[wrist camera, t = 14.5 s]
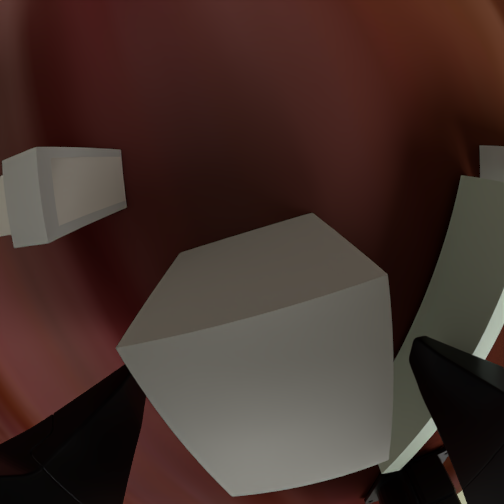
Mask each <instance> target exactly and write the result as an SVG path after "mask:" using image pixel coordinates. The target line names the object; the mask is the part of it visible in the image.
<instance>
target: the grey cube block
mask: <svg viewBox="0 0 504 504" xmlns="http://www.w3.org/2000/svg"><path fill="white" fill-rule="evenodd" d="M116 349H117V351H118V353H119V354H120V356H121V358H122V359H123V361H124V363H125V364H126V366H127V367H128V369H129V371H130V372H131V374H132V375H133V377H134V378H135V380H136V381H137V383H138V384H139V386H140V387H141V389H142V390H143V392H144V393H145V395H146V396H147V398H148V399H149V400H150V402H151V403H152V405H153V406H154V407H155V409H156V410H157V411H158V413H159V414H160V416H161V417H162V418H163V420H164V421H165V422H166V423H167V425H168V426H169V427H170V429H171V430H172V431H173V432H174V434H175V435H176V436H177V437H178V439H179V440H180V441H181V442H182V443H183V445H184V446H185V447H186V448H187V449H188V450H189V452H190V453H191V454H192V455H193V456H194V457H195V459H196V460H197V461H198V462H199V463H200V464H201V465H202V466H203V467H204V468H205V470H206V471H207V472H208V473H209V474H210V475H211V476H212V477H213V478H214V479H215V480H216V481H217V482H218V483H219V484H220V485H221V486H222V487H223V488H224V489H225V490H226V491H227V492H228V493H229V494H230V495H231V496H243V495H252V494H260V493H267V492H274V491H280V490H286V489H291V488H296V487H301V486H306V485H310V484H314V483H318V482H322V481H326V480H330V479H334V478H337V477H341V476H344V475H347V474H351V473H354V472H357V471H360V470H363V469H366V468H369V467H371V466H374V465H377V464H380V463H382V462H385V461H387V460H389V452H390V442H391V430H392V414H393V383H394V363H393V331H392V315H391V302H390V291H389V281H388V274H387V273H386V272H384V271H383V270H382V269H381V268H380V267H379V266H377V265H376V264H375V263H374V262H373V261H372V260H370V259H369V258H368V257H367V256H366V255H364V254H363V253H362V252H361V251H360V250H358V249H357V248H356V247H355V246H354V245H352V244H351V243H350V242H349V241H347V240H346V239H345V238H344V237H342V236H341V235H340V234H339V233H338V232H336V231H335V230H334V229H332V228H331V227H330V226H329V225H327V224H326V223H325V222H324V221H322V220H321V219H320V218H318V217H317V216H316V215H315V214H313V213H309V214H306V215H302V216H299V217H295V218H292V219H289V220H285V221H282V222H279V223H275V224H272V225H268V226H265V227H262V228H258V229H255V230H252V231H249V232H245V233H242V234H239V235H235V236H232V237H229V238H226V239H222V240H219V241H216V242H213V243H209V244H206V245H203V246H200V247H197V248H193V249H190V250H187V251H184V252H181V253H179V255H178V256H177V258H176V259H175V260H174V262H173V263H172V265H171V266H170V268H169V269H168V270H167V272H166V273H165V275H164V276H163V278H162V279H161V280H160V282H159V283H158V285H157V286H156V288H155V289H154V291H153V292H152V293H151V295H150V296H149V298H148V299H147V301H146V302H145V304H144V305H143V307H142V308H141V310H140V311H139V313H138V314H137V316H136V317H135V319H134V320H133V322H132V323H131V325H130V327H129V328H128V330H127V331H126V333H125V334H124V336H123V337H122V339H121V341H120V342H119V344H118V345H117V347H116Z"/></svg>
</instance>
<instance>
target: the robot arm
mask: <svg viewBox="0 0 504 504" xmlns="http://www.w3.org/2000/svg"><path fill="white" fill-rule="evenodd" d="M409 364H410V366H411V369H412V372H413V374H414V377H415V379H416V382H417V385H418V388H419V390H420V393H421V396H422V398H423V400H424V402H425V404H426V406H427V409H428V411H429V413H430V415H431V417H432V419H433V421H434V423H435V425H436V428H437V430H438V432H439V434H440V436H441V439H442V441H443V443H444V446H445V448H442V449H440V450H438V451H435V452H433V453H431V454H428V455H426V456H423V457H421V458H418V459H415V460H412V461H410V462H407V463H406V464H405V465H404V466H403V467H402V468H401V469H400V470H399V471H395V472H390V473H384V474H381V473H380V475H379V476H378V478H377V480H376V481H375V483H374V485H373V486H372V488H371V490H370V491H369V493H368V495H367V496H366V498H365V499H364V501H365V504H368V503H372V502H375V501H379V504H461V502H460V500H459V498H458V496H457V494H456V489H455V487H454V485H453V483H452V481H451V479H450V477H449V475H448V473H447V471H446V469H445V467H444V465H443V462H444V461H445V459H446V458H447V457H448V455H449V457H450V460H451V462H452V464H453V467H454V469H455V472H456V474H457V477H458V480H459V482H460V485H461V487H462V489H463V493H464V496H465V499H466V502H467V504H504V368H503V367H502V366H499V365H497V364H494V363H492V362H489V361H487V360H484V359H482V358H479V357H477V356H474V355H472V354H469V353H467V352H464V351H462V350H459V349H457V348H454V347H452V346H450V345H447V344H445V343H442V342H440V341H437V340H435V339H432V338H430V337H428V336H420V337H416V338H415V339H414V340H413V343H412V347H411V351H410V355H409ZM145 399H146V395H145V393H144V392H143V390H142V389H141V387H140V386H139V384H138V383H137V381H136V380H135V378H134V377H133V375H132V374H131V372H130V371H129V369H128V367H127V366H126V364H125V365H123V366H122V367H120V368H119V369H118V370H116V371H115V372H113V373H112V374H110V375H109V376H108V377H106V378H105V379H103V380H102V381H100V382H99V383H97V384H96V385H95V386H93V387H92V388H90V389H89V390H87V391H86V392H84V393H83V394H81V395H80V396H79V397H77V398H76V399H74V400H73V401H71V402H70V403H68V404H67V405H65V406H64V407H62V408H61V409H59V410H58V411H56V412H55V413H54V415H50V416H49V417H47V418H46V419H44V420H43V421H41V422H40V423H38V424H37V425H35V426H33V427H32V428H30V429H28V430H26V431H25V432H23V433H21V434H19V435H17V436H15V437H13V438H11V439H9V440H7V441H5V442H4V443H2V444H0V504H123V500H124V496H125V491H126V487H127V482H128V478H129V474H130V469H131V465H132V461H133V457H134V453H135V449H136V445H137V441H138V438H139V434H140V430H141V425H142V419H143V412H144V405H145Z"/></svg>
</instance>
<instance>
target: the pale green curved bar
mask: <svg viewBox="0 0 504 504" xmlns="http://www.w3.org/2000/svg"><path fill="white" fill-rule="evenodd" d="M503 324H504V182H500V181H495V180H489V179H483V178H477V177H471V176H464V175H461V178H460V183H459V187H458V192H457V196H456V201H455V205H454V209H453V212H452V216H451V220H450V224H449V227H448V230H447V234H446V237H445V240H444V244H443V247H442V250H441V253H440V256H439V259H438V262H437V265H436V267H435V270H434V273H433V276H432V278H431V281H430V284H429V286H428V289H427V291H426V294H425V296H424V299H423V301H422V304H421V306H420V308H419V311H418V313H417V315H416V317H415V320H414V322H413V324H412V326H411V328H410V330H409V332H408V335H407V337H406V339H405V341H404V343H403V345H402V347H401V349H400V351H399V353H398V355H397V356H396V358H395V360H394V362H393V363H394V383H393V414H392V430H391V442H390V452H389V460H387V461H385V462H382V463H380V464H378V465H379V468H380V471H381V474H384V473H390V472H395V471H399V470H400V469H401V468H402V467H403V466H404V465H405V464H406V463H407V462H408V461H409V460H410V459H411V458H412V457H413V456H414V455H415V454H416V453H417V452H418V451H419V450H420V449H421V447H422V446H423V445H424V444H425V443H426V442H427V441H428V439H429V438H430V437H431V436H432V435H433V434H434V432H435V431H436V430H437V428H436V425H435V423H434V421H433V419H432V417H431V415H430V413H429V411H428V409H427V406H426V404H425V402H424V400H423V398H422V396H421V393H420V390H419V388H418V385H417V382H416V379H415V377H414V374H413V372H412V369H411V366H410V364H409V355H410V351H411V347H412V343H413V340H414V339H415V338H416V337H420V336H428V337H430V338H432V339H435V340H437V341H440V342H442V343H445V344H447V345H450V346H452V347H454V348H457V349H459V350H462V351H464V352H467V353H469V354H472V355H474V356H477V357H479V358H482V359H484V360H485V359H486V357H487V355H488V353H489V352H490V350H491V348H492V346H493V344H494V342H495V340H496V338H497V336H498V334H499V332H500V330H501V328H502V326H503Z"/></svg>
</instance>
